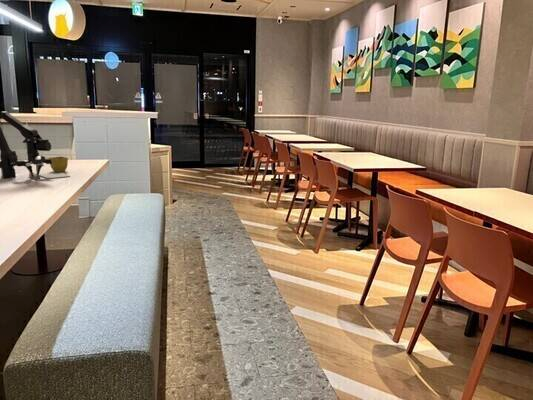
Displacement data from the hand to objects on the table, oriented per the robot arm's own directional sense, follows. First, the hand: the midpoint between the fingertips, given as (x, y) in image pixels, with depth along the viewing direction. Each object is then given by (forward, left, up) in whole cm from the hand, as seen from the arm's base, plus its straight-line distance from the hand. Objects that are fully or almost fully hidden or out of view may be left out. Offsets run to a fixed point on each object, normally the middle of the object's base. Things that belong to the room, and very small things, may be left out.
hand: (35, 176), depth 261 cm
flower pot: (+20, +17, -1) cm, 26 cm away
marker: (0, +1, -1) cm, 2 cm away
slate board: (+11, 0, -1) cm, 11 cm away
